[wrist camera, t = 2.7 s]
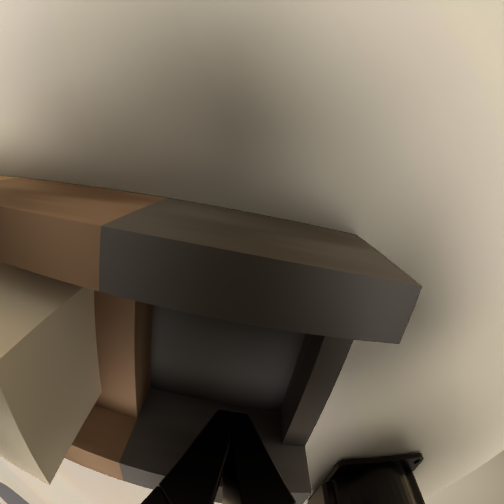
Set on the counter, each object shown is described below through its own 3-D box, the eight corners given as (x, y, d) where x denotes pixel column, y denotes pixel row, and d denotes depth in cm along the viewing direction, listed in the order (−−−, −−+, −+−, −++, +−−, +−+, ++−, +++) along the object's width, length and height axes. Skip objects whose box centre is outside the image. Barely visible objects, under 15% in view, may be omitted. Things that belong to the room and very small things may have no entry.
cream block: (93, 278, 9) (-7, 365, 4) (101, 392, 10) (49, 484, 5) (-6, 249, 9) (-98, 297, 4) (12, 354, 10) (-50, 417, 5)
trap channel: (356, 235, 11) (421, 286, 6) (290, 426, 14) (298, 508, 9) (-60, 170, 10) (-119, 182, 5) (-46, 317, 13) (-89, 349, 8)
